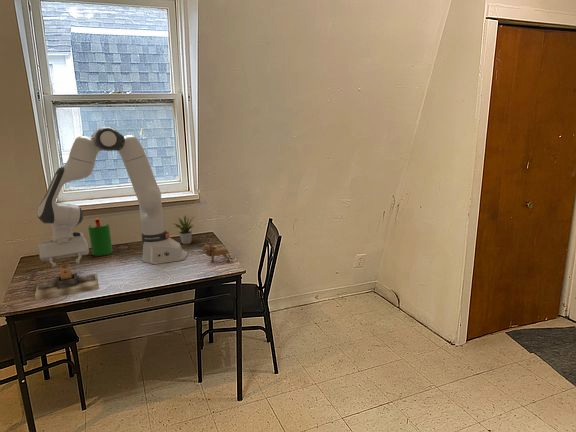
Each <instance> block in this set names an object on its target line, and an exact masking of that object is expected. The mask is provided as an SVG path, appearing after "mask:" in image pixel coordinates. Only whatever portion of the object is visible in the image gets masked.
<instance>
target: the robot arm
mask: <svg viewBox="0 0 576 432" xmlns="http://www.w3.org/2000/svg"><path fill="white" fill-rule="evenodd" d="M101 151H106V152H110V151H111V152H112V151H117V152H118V154H119V155H120V157H121V160H122V162H123V165H124V167H125V169H126V172H127V174H128V177H129V181H130V183H131V185H132V189H133V191H134V193H135V196H136V198H137V201H138V205H139V206H138V208H139V217H140V219H139V220H140V226H141V227H140V228H141V244H142V246H143V247H142V256H141V261H142V262H143V263H147V264H151V265H161V264H167V263H172V262H173V263H174V262H179V261H184V260H185V259H186V258H187V257H188V253H187V251H186V250H184V249H183V248H182V245H181V244H180V242H178V241H176V240H175V239H173V238H171V237H170V232H169V230H165V220H164V214H163V213H164V212H163V211H164V210H163V205H162V192H161V190H160V189H161V188H160V187H159V186H158V183H157V181H156V178H155V176H154V172H153V170H152V167H151V165H150V162H149V160H148V157H147V154H146V151H145V149H144V148H143V146H142V143H141V142H140V140H139V139H138V138H137V136H135V135H132V134H127V135H123V134H121V133H120V132H119V131H118V130H116V129H115V128H113V127H111V126H102V127H99V128H98V129H96V131H95V132H94V133H93V134H92V135H91V136H87V135H86V136H85V135H80V136H77V137H76V138H75V140H74V141H73V143H72V146H71V148H70V151H69V155H68V158H67V161H66V163H65V164H64V165H62V166H61V167H60V166H59V167H58V168H57V170H56V171H55V172H54V176H53V177H52V180H51V181H50V184H49V186H48V188H47V191H46V193H45V195H44V198H43V199H42V200H41V202H40V204H39V207H38V209H37V213H36V214H37V218H38V219H39V220H40V221H41V222H42V223H43V224H50V227H51V229H52V233H51V236H52V240H48V241H47V240H46V241H41V242H40V243H39V244H38V245H37V249H38V250H39V259H40V261H42V262H46V261H49V263H50V264H51V265H52V268H54V269H55V268H57V262H54V260H59V259H64V258H65V259H66V258H72V257H77V258H75V265H79V264H80V261H81V259H82V256H84V255H85V256H87V255H88V254H90V248H89V244H88V241H87V239H86V238H85V235H84V233H83V232H79V231H73V229H74V228H76V227H77V226H78V225H80V224H81V222H82V221H83V220H84V213H83V210H82V208H81V207H80V206H79V205H78V204H77V205H76V204H71V203H63V202H57V199H58V197H59V195H60V193H61V189H62V188H63V186H64V185H65V184H67V183H71V182H72V181H74V182H75V181H80V180H83V179H86V178H88V177H89V176H91V175H92V173H93V171H94V169H95V165H96V160H97V156H98V154H99V153H100V152H101Z"/></svg>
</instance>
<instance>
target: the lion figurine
mask: <svg viewBox="0 0 576 432" xmlns="http://www.w3.org/2000/svg"><path fill="white" fill-rule="evenodd" d="M202 252H203V253H204V254H205V255H206V256H208V257H211V260H210V262H211V263H215V257H219V256H223V257H224V258H223V259H222V260H223V261H226V263H229V262H230V261H232V260H234V258H232V257H231V256H230V252H229V251H228V249H227V248H224V247H222V248H216V247H215V246H213V245H210V244H204V245H203V246H202Z"/></svg>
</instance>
